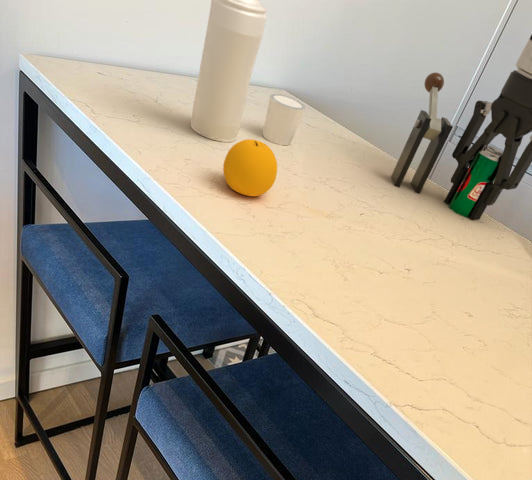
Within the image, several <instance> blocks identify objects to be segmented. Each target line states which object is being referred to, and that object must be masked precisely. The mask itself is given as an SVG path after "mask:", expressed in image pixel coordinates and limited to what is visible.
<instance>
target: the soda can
mask: <svg viewBox="0 0 532 480" xmlns="http://www.w3.org/2000/svg"><path fill="white" fill-rule="evenodd" d="M502 155H503V150H500V149H499V148H496V147H495V146H492V145H489V144H488V145H483V146H482V148H481V149H479V150H478V151H477V153H476V154H475V156H474V158H473V160H472V162H471V164H470V166H468V169H467V171H466V173H465V175H464V177H463V179H462V180H461V182H460V184H459V186H458V188H457V190H456V192H455V194H454V195H453V197H452V199H451V201H450V203H449V204H447V206H448V208H449V209H450V210H451V211H452V212H454V213H456V214H457V215H459V216H461V217H464V218H467V219H470V218H469V217H470V215H471V214H472V212H473V210H474V208H475V207H476V205H477V203H478V201H479V200H480V198H481V196H482V194H483V193H484V191H485V189H486V187H487V186H488V184H494V181H495V178H496V174H497V171H498V168H499V164H500V161H501V158H502Z"/></svg>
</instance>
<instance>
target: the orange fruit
mask: <svg viewBox="0 0 532 480" xmlns="http://www.w3.org/2000/svg"><path fill="white" fill-rule="evenodd" d="M222 169H223V176H224V179H225V180H224V181H225V182H226V184H227V185H228V186H229V187H230V188H231V189H232V191H234V192H237V193H238V194H241V195H244V196H247V197H258V196H263V195H264V194H267V193H268V191H270V190H271V188H272V187H273V185H274V184H275V182H276V180H277V174H278V162H277V158H276V156H275V153H274V151H273V150H272V148H271V147H269V146H268V144H266V143H265V142H262V141H261V140H260V141H259V140H256V139H252V138H250V139H249V138H248V139H247V138H246V139H243V140H240V141H238V142H236V143H235V144H233V145H232V146H231V147H230V148H229V150H228V151H227V154H226V155H225V159H224V161H223V168H222Z"/></svg>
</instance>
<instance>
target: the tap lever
mask: <svg viewBox="0 0 532 480" xmlns="http://www.w3.org/2000/svg"><path fill="white" fill-rule="evenodd" d="M423 85H424V89H425V90H426V91H427V92H428V93H429V98H428V99H429V100H428V115H429V117H430V118H431V122H430V124H429V126H428V128H427V130H426V132H425V134H424V136H423V138H424V139H427V140H428V141H429V140H430V141H431V140H432V141H434V140H435V139H436V138H437V136H438V135H439V134H440V132H441V118H438V116H437V115H438V97H439V96H438V94H439V92H440V91H441V90H442V89H443V87H444V86H445V79H444V76H443V75H442V73H440V72H431V73H430V74H427V77H426V78H425V79H424V84H423Z"/></svg>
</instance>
